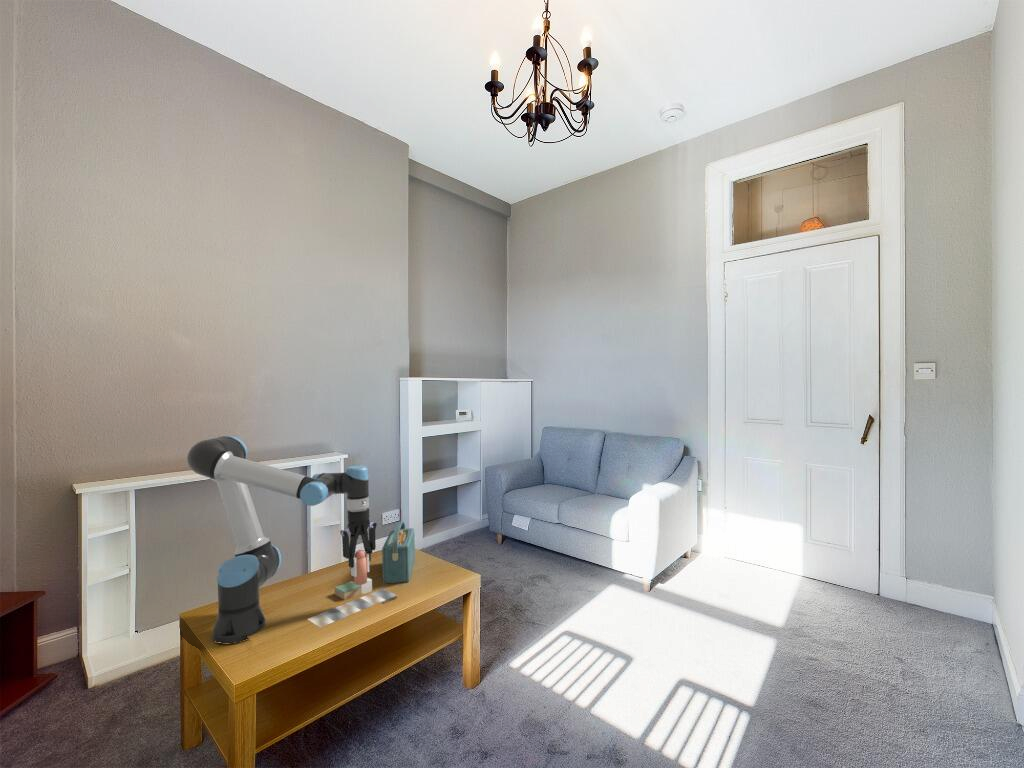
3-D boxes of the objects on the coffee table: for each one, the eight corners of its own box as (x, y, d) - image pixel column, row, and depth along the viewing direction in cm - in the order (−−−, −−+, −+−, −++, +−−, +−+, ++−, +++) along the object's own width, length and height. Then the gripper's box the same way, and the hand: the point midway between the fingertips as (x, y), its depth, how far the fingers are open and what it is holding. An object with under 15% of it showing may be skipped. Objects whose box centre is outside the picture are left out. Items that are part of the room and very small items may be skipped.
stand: (344, 603, 172) (344, 592, 172) (335, 597, 177) (334, 587, 177) (361, 596, 178) (361, 585, 178) (351, 591, 182) (351, 581, 182)
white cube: (361, 583, 179) (371, 579, 183) (355, 580, 182) (365, 576, 185) (361, 595, 179) (372, 591, 183) (355, 592, 182) (365, 588, 185)
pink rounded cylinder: (358, 586, 166) (357, 553, 166) (352, 583, 169) (350, 550, 169) (369, 581, 169) (368, 549, 169) (362, 578, 172) (361, 547, 172)
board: (320, 631, 153) (320, 627, 153) (307, 622, 159) (307, 619, 159) (396, 598, 176) (396, 594, 176) (383, 591, 181) (383, 588, 181)
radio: (391, 561, 213) (390, 517, 213) (415, 559, 214) (414, 516, 215) (381, 585, 188) (380, 535, 188) (409, 583, 189) (407, 533, 189)
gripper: (341, 516, 160) (343, 584, 160) (385, 505, 173) (386, 568, 173) (330, 512, 165) (332, 578, 165) (373, 502, 178) (375, 563, 178)
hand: (360, 573), depth 169 cm, fingers closed on pink rounded cylinder, 4 cm apart
